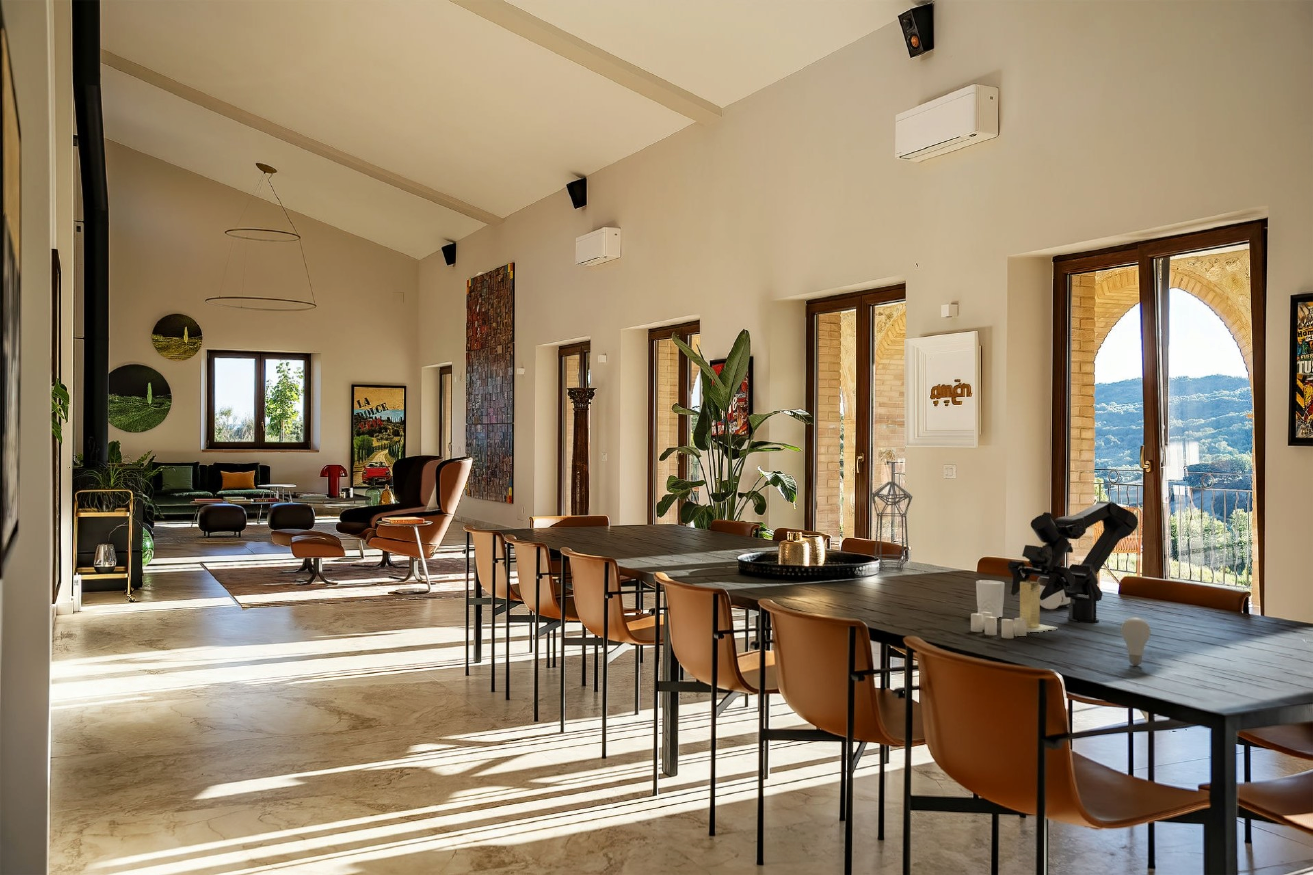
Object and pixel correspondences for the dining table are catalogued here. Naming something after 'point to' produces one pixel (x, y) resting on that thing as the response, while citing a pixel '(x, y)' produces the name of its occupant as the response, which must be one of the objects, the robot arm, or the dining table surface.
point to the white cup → (990, 597)
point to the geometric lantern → (907, 495)
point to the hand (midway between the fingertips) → (1026, 596)
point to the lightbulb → (1135, 638)
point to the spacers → (990, 625)
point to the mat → (1041, 628)
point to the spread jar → (1052, 597)
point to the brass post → (1030, 603)
